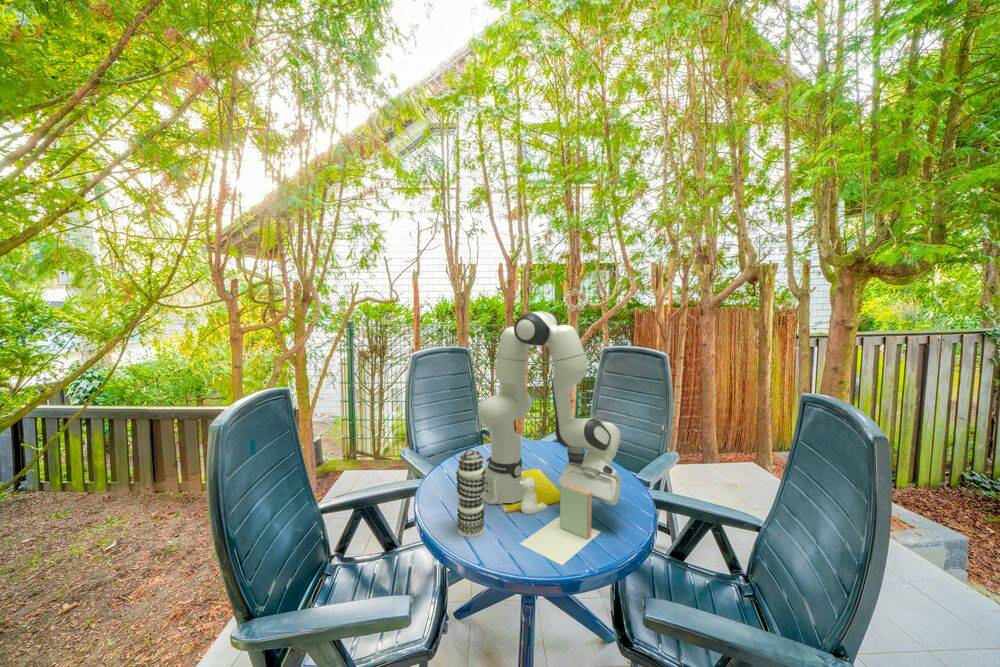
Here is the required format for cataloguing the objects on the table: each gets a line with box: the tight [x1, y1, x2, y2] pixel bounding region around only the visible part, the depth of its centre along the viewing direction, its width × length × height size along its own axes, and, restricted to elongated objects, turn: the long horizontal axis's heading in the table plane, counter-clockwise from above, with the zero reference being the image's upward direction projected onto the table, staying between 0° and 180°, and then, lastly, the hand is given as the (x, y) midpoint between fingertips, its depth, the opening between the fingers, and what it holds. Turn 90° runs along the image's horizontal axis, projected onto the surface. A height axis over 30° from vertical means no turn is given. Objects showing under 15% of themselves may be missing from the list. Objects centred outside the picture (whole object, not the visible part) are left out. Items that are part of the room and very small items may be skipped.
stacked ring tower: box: [455, 449, 486, 538], centre depth 128 cm, size 9×9×25 cm
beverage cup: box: [566, 447, 586, 465], centre depth 166 cm, size 7×7×20 cm
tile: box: [559, 483, 593, 539], centre depth 126 cm, size 10×2×14 cm, turn 48°
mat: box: [519, 515, 602, 566], centre depth 123 cm, size 15×22×1 cm
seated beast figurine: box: [519, 477, 548, 515], centre depth 140 cm, size 10×9×12 cm
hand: (579, 508), depth 128 cm, fingers closed
